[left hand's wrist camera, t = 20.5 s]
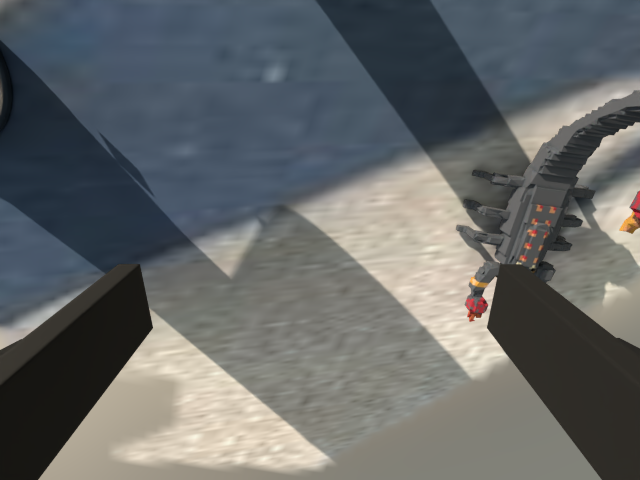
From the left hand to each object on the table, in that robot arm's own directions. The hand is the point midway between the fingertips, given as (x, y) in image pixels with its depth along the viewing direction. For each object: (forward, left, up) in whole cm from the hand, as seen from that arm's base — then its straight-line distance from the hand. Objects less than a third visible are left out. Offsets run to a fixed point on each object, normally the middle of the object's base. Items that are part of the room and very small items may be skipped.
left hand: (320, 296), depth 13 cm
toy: (+23, -6, -29) cm, 37 cm away
